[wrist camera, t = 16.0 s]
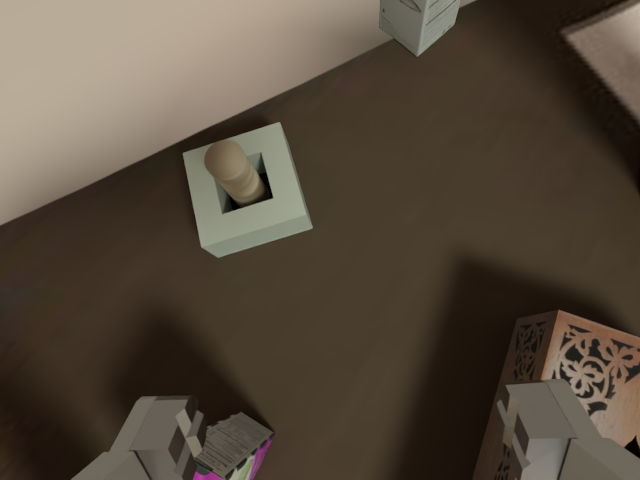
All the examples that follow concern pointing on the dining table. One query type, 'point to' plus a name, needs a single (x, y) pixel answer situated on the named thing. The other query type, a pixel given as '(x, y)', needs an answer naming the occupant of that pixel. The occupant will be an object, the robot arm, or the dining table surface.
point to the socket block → (255, 220)
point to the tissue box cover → (571, 379)
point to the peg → (235, 173)
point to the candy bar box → (233, 449)
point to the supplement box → (417, 21)
